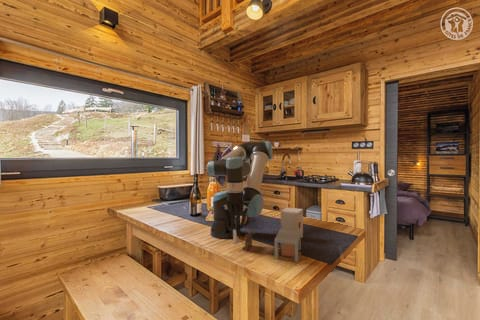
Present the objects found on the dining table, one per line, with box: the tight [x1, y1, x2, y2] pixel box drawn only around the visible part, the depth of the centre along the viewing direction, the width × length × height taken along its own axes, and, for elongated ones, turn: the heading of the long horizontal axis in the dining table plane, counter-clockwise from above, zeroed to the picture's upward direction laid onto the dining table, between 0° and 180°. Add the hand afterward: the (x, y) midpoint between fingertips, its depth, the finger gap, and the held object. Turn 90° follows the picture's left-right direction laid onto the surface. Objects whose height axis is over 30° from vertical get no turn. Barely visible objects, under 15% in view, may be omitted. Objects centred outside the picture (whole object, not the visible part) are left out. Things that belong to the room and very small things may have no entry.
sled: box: [244, 230, 302, 260], centre depth 96 cm, size 23×7×8 cm, turn 70°
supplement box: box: [280, 206, 304, 239], centre depth 113 cm, size 9×9×15 cm
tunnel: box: [274, 228, 302, 263], centre depth 94 cm, size 9×13×9 cm
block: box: [281, 243, 295, 257], centre depth 94 cm, size 5×5×6 cm
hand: (235, 242), depth 102 cm, fingers closed
